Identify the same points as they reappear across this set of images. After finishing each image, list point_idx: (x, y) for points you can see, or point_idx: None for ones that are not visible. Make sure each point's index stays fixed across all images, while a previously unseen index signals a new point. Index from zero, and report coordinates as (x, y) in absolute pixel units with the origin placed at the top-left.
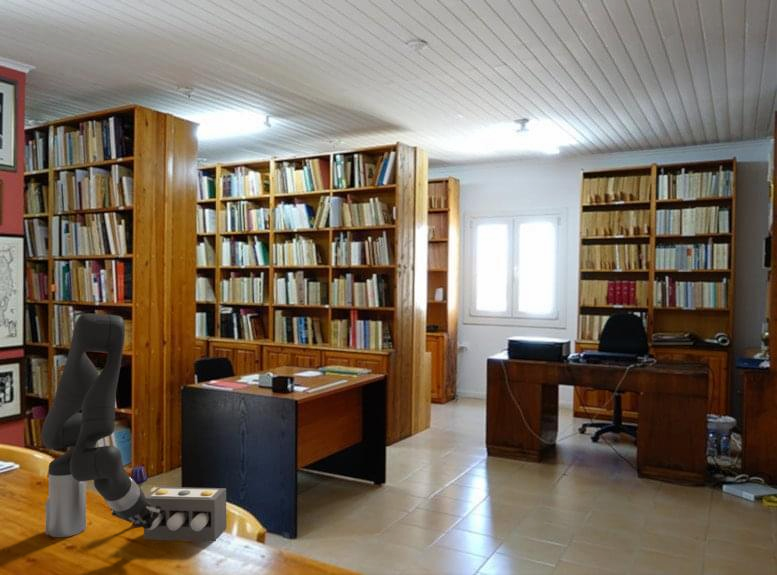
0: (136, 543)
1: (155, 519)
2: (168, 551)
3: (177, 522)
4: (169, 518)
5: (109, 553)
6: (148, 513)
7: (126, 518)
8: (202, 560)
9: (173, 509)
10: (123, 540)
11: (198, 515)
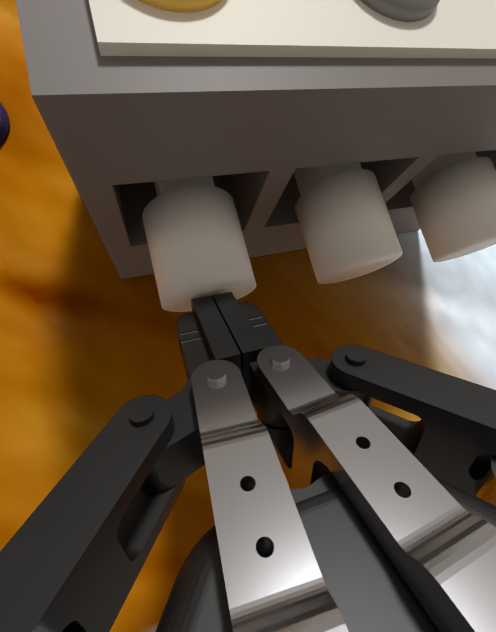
0: (111, 325)
1: (252, 277)
2: (317, 352)
3: (385, 260)
4: (355, 260)
5: (42, 473)
6: (314, 376)
7: (145, 553)
8: (484, 378)
9: (328, 159)
10: (9, 313)
11: (491, 195)
